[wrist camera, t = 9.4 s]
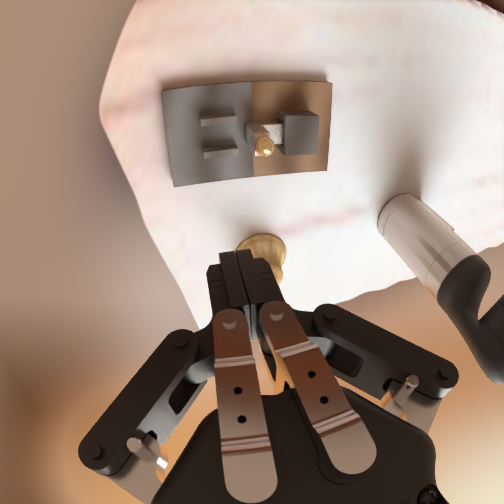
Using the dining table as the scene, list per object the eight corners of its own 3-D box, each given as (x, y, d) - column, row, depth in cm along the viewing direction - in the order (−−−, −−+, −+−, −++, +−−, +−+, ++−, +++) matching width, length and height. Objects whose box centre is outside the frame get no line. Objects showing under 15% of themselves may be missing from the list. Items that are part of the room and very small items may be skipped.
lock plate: (327, 81, 33) (344, 86, 29) (322, 166, 40) (337, 180, 37) (162, 90, 30) (159, 94, 26) (174, 182, 37) (173, 198, 34)
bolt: (309, 119, 34) (335, 135, 29) (308, 137, 36) (333, 156, 30) (242, 122, 33) (256, 138, 27) (243, 141, 34) (257, 161, 29)
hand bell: (222, 263, 47) (242, 348, 34) (257, 224, 44) (291, 304, 31) (262, 283, 51) (289, 362, 39) (296, 249, 48) (336, 325, 36)
